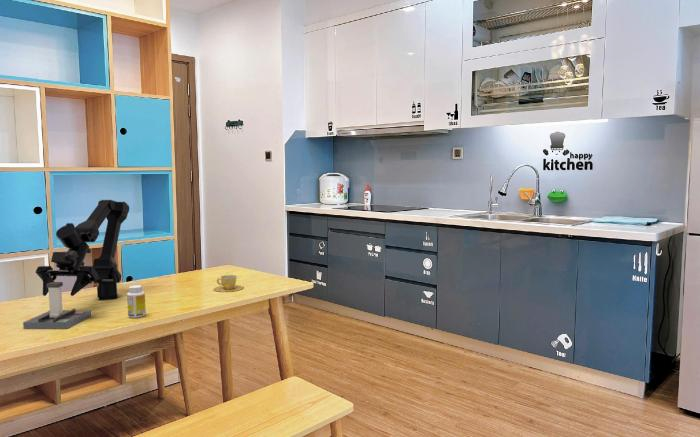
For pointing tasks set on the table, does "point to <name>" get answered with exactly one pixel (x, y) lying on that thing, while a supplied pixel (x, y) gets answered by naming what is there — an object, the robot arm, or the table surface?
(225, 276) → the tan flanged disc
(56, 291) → the handle
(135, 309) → the supplement bottle
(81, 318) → the box
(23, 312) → the table surface
